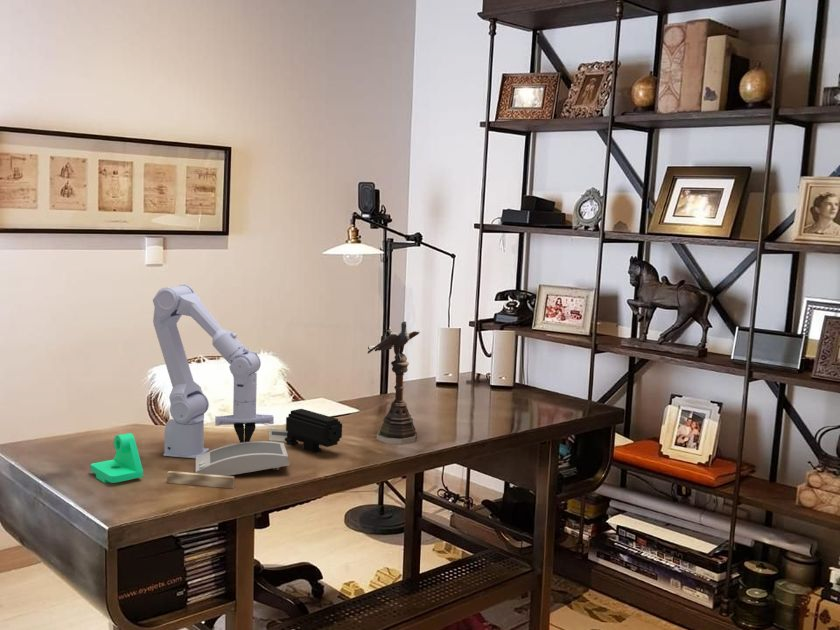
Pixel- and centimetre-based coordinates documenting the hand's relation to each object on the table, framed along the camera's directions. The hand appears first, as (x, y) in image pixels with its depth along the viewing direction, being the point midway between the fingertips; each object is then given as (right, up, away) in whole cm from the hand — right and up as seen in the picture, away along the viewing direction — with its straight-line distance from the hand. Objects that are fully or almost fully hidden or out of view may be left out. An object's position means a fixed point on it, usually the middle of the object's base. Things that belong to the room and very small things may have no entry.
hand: (244, 451), depth 217 cm
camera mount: (-27, -4, -16) cm, 32 cm away
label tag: (+6, 0, +19) cm, 20 cm away
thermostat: (+1, -4, -7) cm, 8 cm away
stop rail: (-6, -5, -19) cm, 21 cm away
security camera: (+15, -2, +12) cm, 20 cm away
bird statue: (+36, -1, +28) cm, 46 cm away
